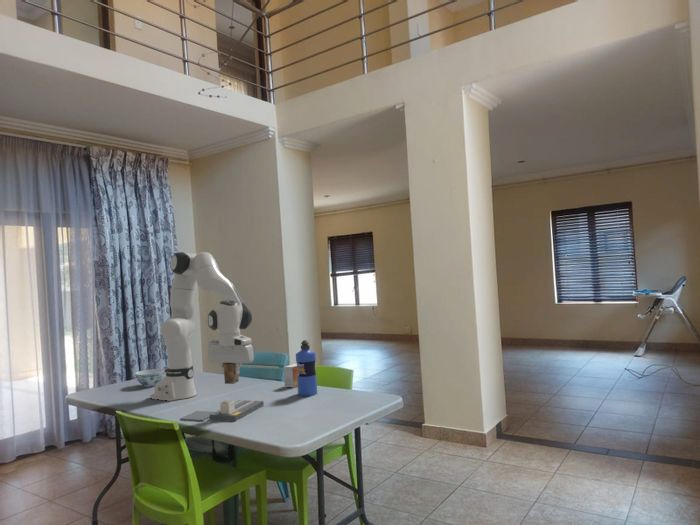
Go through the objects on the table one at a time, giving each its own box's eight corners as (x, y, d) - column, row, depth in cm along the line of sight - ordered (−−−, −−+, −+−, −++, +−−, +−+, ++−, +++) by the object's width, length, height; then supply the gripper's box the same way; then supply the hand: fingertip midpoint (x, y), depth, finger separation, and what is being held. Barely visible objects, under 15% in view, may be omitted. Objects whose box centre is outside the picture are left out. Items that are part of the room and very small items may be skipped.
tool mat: (179, 420, 198) (179, 418, 198) (197, 412, 209) (196, 410, 209) (202, 421, 195) (202, 419, 195) (219, 413, 205) (218, 411, 205)
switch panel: (209, 419, 196) (209, 412, 196) (239, 404, 217) (239, 398, 217) (235, 421, 192) (235, 413, 193) (263, 405, 213) (263, 399, 213)
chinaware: (170, 384, 269) (169, 370, 269) (143, 390, 258) (143, 375, 258) (156, 381, 279) (155, 367, 279) (130, 387, 267) (129, 373, 268)
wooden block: (224, 383, 201) (223, 364, 201) (230, 381, 205) (229, 362, 205) (233, 383, 200) (232, 364, 200) (238, 381, 204) (237, 362, 203)
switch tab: (220, 413, 197) (220, 402, 197) (226, 410, 201) (225, 399, 201) (229, 414, 196) (228, 402, 196) (234, 411, 199) (234, 400, 199)
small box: (293, 388, 243) (292, 367, 243) (284, 387, 246) (283, 366, 246) (303, 384, 250) (302, 364, 250) (294, 384, 253) (293, 363, 253)
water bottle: (308, 390, 237) (306, 338, 237) (321, 393, 230) (318, 339, 231) (293, 394, 230) (290, 341, 231) (306, 397, 224) (303, 342, 224)
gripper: (203, 341, 203) (205, 374, 203) (246, 341, 196) (248, 375, 196) (213, 339, 209) (214, 371, 209) (255, 338, 202) (256, 372, 202)
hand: (231, 373), depth 202 cm, fingers closed on wooden block, 4 cm apart
